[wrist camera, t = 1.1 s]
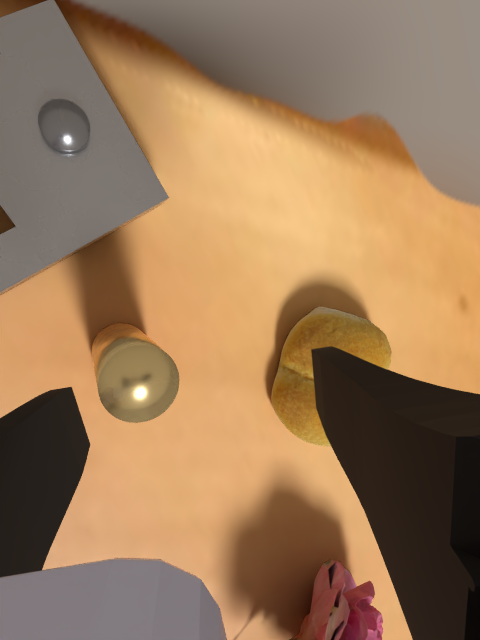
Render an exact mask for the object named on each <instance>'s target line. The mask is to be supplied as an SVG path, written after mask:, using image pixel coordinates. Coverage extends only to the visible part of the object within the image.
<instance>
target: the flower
mask: <svg viewBox="0 0 480 640" xmlns="http://www.w3.org/2000/svg"><path fill="white" fill-rule="evenodd" d="M374 595H375V592H374V587H373V584H372V583H371V581H368V582H366V583H364V584H362V585H360V586H357V587H356V584H355V582H354V579H353V577H352V576H351V574H350V572H349V571H348V570H347V569H344V567H343V565H342V564H341V562H340V561H334V560H333V559H330V560H329V561H327V562H325V563H324V564H322V566H321V568H320V570H319V572H318V574H317V576H316V578H315V580H314V587H313V595H312V603H311V610H310V614H309V615H307V616H305V618H304V620H303V622H302V624H301V627H300V633H299V634H298V635H296V636H295V637H293V638H291V639H290V640H382V633H383V628H382V623H383V619H382V614H381V613H380V612H379V611H378V610H376V608H374V607H373V606H371V605H369V604H371V603H372V599H373V598H374Z"/></svg>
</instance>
